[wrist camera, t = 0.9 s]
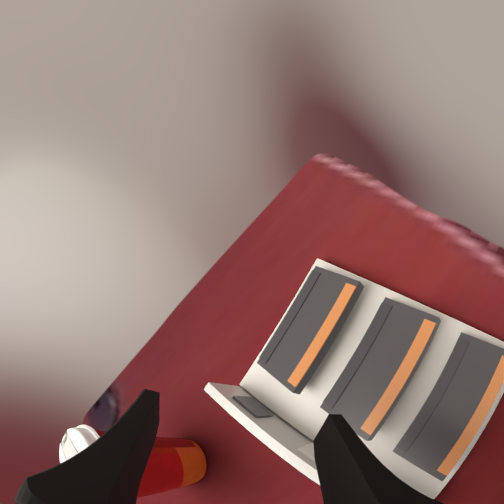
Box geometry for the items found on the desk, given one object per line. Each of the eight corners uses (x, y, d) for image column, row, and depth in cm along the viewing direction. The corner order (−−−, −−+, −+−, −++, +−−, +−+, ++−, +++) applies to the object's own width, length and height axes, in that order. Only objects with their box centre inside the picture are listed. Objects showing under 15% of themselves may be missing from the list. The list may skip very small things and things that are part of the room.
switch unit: (515, 352, 15) (541, 340, 11) (419, 509, 13) (416, 539, 9) (322, 264, 29) (299, 235, 24) (242, 393, 27) (203, 389, 22)
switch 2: (440, 321, 18) (438, 316, 17) (371, 440, 17) (366, 441, 16) (389, 301, 22) (384, 296, 22) (325, 408, 21) (318, 406, 20)
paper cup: (154, 455, 28) (51, 451, 18) (185, 416, 29) (73, 405, 18) (191, 502, 23) (82, 520, 13) (228, 466, 24) (111, 484, 13)
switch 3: (514, 355, 14) (515, 352, 13) (444, 479, 12) (442, 481, 12) (462, 335, 18) (461, 331, 17) (395, 450, 16) (391, 451, 16)
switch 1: (364, 286, 23) (358, 280, 22) (299, 394, 21) (291, 392, 21) (321, 270, 27) (315, 265, 26) (264, 365, 25) (255, 362, 25)
